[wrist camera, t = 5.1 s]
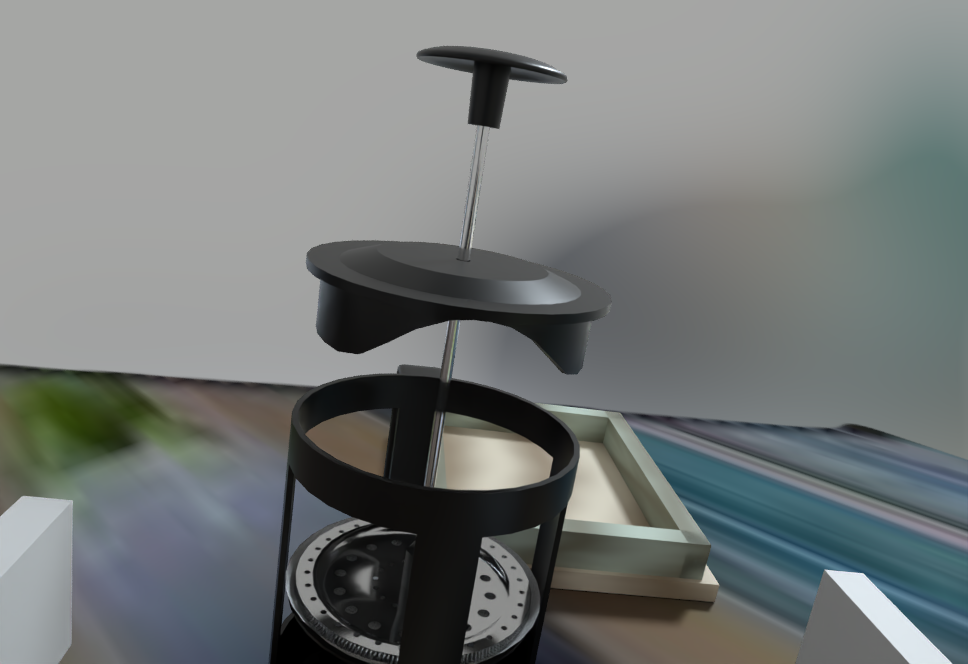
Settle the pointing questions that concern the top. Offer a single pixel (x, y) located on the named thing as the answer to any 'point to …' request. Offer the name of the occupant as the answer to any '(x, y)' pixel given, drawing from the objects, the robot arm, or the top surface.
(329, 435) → the top surface
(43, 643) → the robot arm
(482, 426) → the tray
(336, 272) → the french press
